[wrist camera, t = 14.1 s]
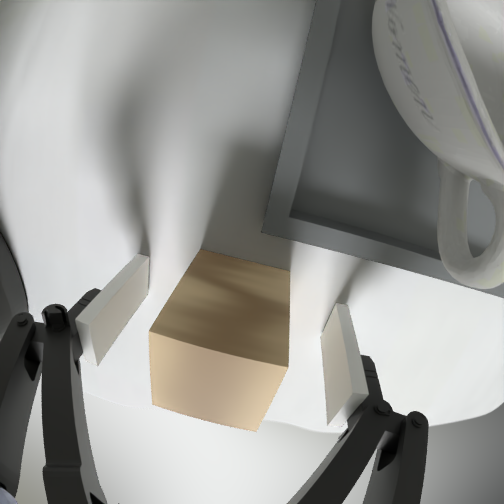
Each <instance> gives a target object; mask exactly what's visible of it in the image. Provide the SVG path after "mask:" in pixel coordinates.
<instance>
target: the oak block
mask: <svg viewBox="0 0 504 504" xmlns="http://www.w3.org/2000/svg"><path fill="white" fill-rule="evenodd" d="M289 323H290V271H287V270H283V269H279V268H275V267H271V266H267V265H263V264H259V263H255V262H251V261H247V260H242V259H238V258H234V257H230V256H226V255H222V254H218V253H214V252H210V251H207V250H203V249H200V251H199V252H198V254H197V255H196V257H195V258H194V260H193V261H192V263H191V264H190V266H189V267H188V269H187V271H186V272H185V274H184V275H183V277H182V278H181V280H180V281H179V283H178V285H177V286H176V288H175V289H174V291H173V293H172V294H171V296H170V297H169V299H168V301H167V302H166V304H165V305H164V307H163V309H162V310H161V312H160V314H159V315H158V317H157V318H156V320H155V322H154V323H153V325H152V327H151V328H150V330H149V357H150V377H151V393H152V404H153V405H155V406H158V407H161V408H164V409H167V410H171V411H174V412H177V413H180V414H184V415H187V416H190V417H194V418H198V419H201V420H205V421H209V422H213V423H217V424H221V425H225V426H230V427H234V428H239V429H244V430H250V431H254V432H256V431H257V429H258V427H259V426H260V424H261V422H262V420H263V418H264V416H265V414H266V412H267V410H268V408H269V406H270V404H271V402H272V400H273V398H274V396H275V394H276V392H277V390H278V388H279V386H280V384H281V382H282V380H283V378H284V376H285V374H286V371H287V369H288V363H289Z"/></svg>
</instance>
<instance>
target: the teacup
mask: <svg viewBox="0 0 504 504" xmlns="http://www.w3.org/2000/svg"><path fill="white" fill-rule="evenodd" d="M372 39H373V47H374V53H375V57H376V61H377V65H378V69H379V71H380V74H381V77H382V80H383V82H384V85H385V87H386V89H387V91H388V93H389V95H390V97H391V99H392V101H393V103H394V105H395V107H396V108H397V110H398V112H399V113H400V115H401V116H402V118H403V119H404V121H405V122H406V124H407V125H408V127H409V128H410V129H411V130H412V132H413V133H414V134H415V135H416V136H417V137H418V139H419V140H420V141H421V142H422V143H423V144H424V145H425V146H426V147H427V148H428V149H429V150H430V151H432V152H433V153H434V154H435V155H436V156H437V158H438V164H437V168H438V174H439V177H440V192H439V206H438V220H437V240H438V247H439V253H440V256H441V260H442V262H443V264H444V267H445V268H446V270H447V271H448V272H449V273H450V275H451V276H452V277H453V278H454V279H456V280H457V281H459V282H460V283H461V284H463V285H466V286H469V287H473V288H478V289H491V288H494V287H497V286H499V285H500V284H502V283H503V282H504V0H376V2H375V5H374V10H373V16H372ZM472 180H475V181H477V182H479V183H480V185H481V189H482V191H483V192H484V194H485V195H486V196H487V197H488V198H489V199H490V200H491V202H492V204H493V206H494V210H495V214H496V226H495V231H494V234H493V237H492V239H491V242H490V244H489V246H488V247H487V248H486V250H485V251H484V252H483V253H482V254H481V255H480V256H478V257H475V258H473V256H472V255H471V253H470V250H469V246H468V238H467V207H468V194H469V185H470V182H471V181H472Z"/></svg>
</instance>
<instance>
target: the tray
mask: <svg viewBox="0 0 504 504" xmlns="http://www.w3.org/2000/svg"><path fill="white" fill-rule="evenodd" d="M375 2H376V0H317V1H316V5H315V9H314V13H313V18H312V22H311V26H310V31H309V35H308V39H307V43H306V48H305V52H304V56H303V60H302V65H301V69H300V73H299V77H298V81H297V86H296V90H295V94H294V98H293V102H292V107H291V111H290V115H289V119H288V123H287V128H286V132H285V136H284V140H283V144H282V148H281V153H280V157H279V161H278V165H277V169H276V173H275V178H274V182H273V186H272V190H271V194H270V198H269V202H268V206H267V211H266V215H265V219H264V223H263V227H262V231H261V233H265V234H269V235H274V236H278V237H282V238H286V239H290V240H294V241H298V242H302V243H306V244H310V245H313V246H317V247H321V248H325V249H329V250H333V251H337V252H341V253H345V254H348V255H352V256H356V257H360V258H364V259H367V260H371V261H375V262H378V263H382V264H386V265H390V266H393V267H397V268H401V269H404V270H408V271H412V272H415V273H419V274H422V275H426V276H429V277H433V278H437V279H440V280H444V281H447V282H451V283H454V284H458V285H461V286H464V287H468V288H471V289H475V290H478V291H481V292H485V293H488V294H492V295H495V296H498V297H501V298H504V282H503V283H502V284H500V285H499V286H497V287H494V288H491V289H478V288H473V287H469V286H466V285H463V284H461V283H460V282H459V281H457V280H456V279H454V278H453V277H452V276H451V275H450V273H449V272H448V271H447V270H446V268H445V267H444V264H443V262H442V260H441V256H440V253H439V247H438V240H437V220H438V206H439V192H440V177H439V174H438V168H437V164H438V158H437V156H436V155H435V154H434V153H433V152H432V151H430V150H429V149H428V148H427V147H426V146H425V145H424V144H423V143H422V142H421V141H420V140H419V139H418V137H417V136H416V135H415V134H414V133H413V132H412V130H411V129H410V128H409V127H408V125H407V124H406V122H405V121H404V119H403V118H402V116H401V115H400V113H399V112H398V110H397V108H396V107H395V105H394V103H393V101H392V99H391V97H390V95H389V93H388V91H387V89H386V87H385V85H384V82H383V80H382V77H381V74H380V71H379V69H378V65H377V61H376V57H375V53H374V47H373V39H372V16H373V10H374V5H375ZM495 226H496V214H495V210H494V206H493V204H492V202H491V200H490V199H489V198H488V197H487V196H486V195H485V194H484V192H483V191H482V189H481V185H480V183H479V182H477V181H475V180H472V181H471V182H470V185H469V194H468V207H467V238H468V246H469V250H470V253H471V255H472V256H473V258H475V257H478V256H480V255H481V254H482V253H483V252H484V251H485V250H486V248H487V247H488V246H489V244H490V242H491V239H492V237H493V234H494V231H495Z"/></svg>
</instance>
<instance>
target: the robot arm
mask: <svg viewBox="0 0 504 504" xmlns="http://www.w3.org/2000/svg"><path fill="white" fill-rule="evenodd" d="M148 275H149V257H148V256H144V255H141V254H137V255H136V256H135V257H134V258H133V259H132V260H131V261H130V262H129V263H128V264H127V265H126V266H125V267H124V268H123V269H122V270H121V271H120V272H119V273H118V274H117V275H116V276H115V277H114V278H113V279H112V280H111V281H110V282H109V283H108V284H107V285H106V286H105V287H104V288H103V290H99V289H96V288H94V289H92V290H90V291H88V292H87V293H86V294H85V295H84V296H83V297H82V298H81V299H80V300H79V301H78V302H77V303H76V304H75V305H74V306H73V307H72V308H71V309H70V310H69V311H68V312H67V309H66V308H65V307H64V306H63V305H60V304H52V305H49V306H47V307H45V308H44V309H43V311H42V313H41V314H42V317H43V321H44V323H39V322H34V319H33V316H32V315H31V314H30V313H28V307H27V301H26V296H25V292H24V288H23V285H22V281H21V278H20V275H19V273H18V270H17V267H16V265H15V262H14V260H13V258H12V255H11V253H10V251H9V249H8V247H7V245H6V243H5V241H4V239H3V237H2V235H1V233H0V504H18V503H17V501H16V500H15V496H16V493H17V489H18V484H19V478H20V469H21V462H22V455H23V449H24V442H25V437H26V432H27V426H28V422H29V418H30V414H31V409H32V405H33V401H34V397H35V393H36V390H37V386H38V383H39V380H40V376H41V373H42V424H43V438H44V448H45V457H46V465H45V466H44V467H43V480H44V486H45V491H46V496H47V501H48V504H107V501H106V498H105V495H104V493H103V491H102V489H101V486H100V484H99V480H98V476H97V472H96V469H95V464H94V460H93V455H92V450H91V446H90V440H89V435H88V429H87V423H86V416H85V409H84V401H83V392H82V381H81V368H80V361H79V358H80V356H81V355H82V354H83V355H84V359H85V361H87V362H89V363H91V364H93V365H96V366H98V365H99V364H100V362H101V361H102V359H103V358H104V356H105V355H106V353H107V352H108V350H109V349H110V347H111V346H112V344H113V343H114V341H115V340H116V339H117V337H118V336H119V334H120V333H121V331H122V330H123V328H124V327H125V326H126V324H127V323H128V321H129V320H130V319H131V317H132V316H133V314H134V313H135V312H136V310H137V309H138V308H139V306H140V305H141V303H142V302H143V301H144V299H145V298H146V297H147V295H148ZM320 338H321V348H322V359H323V370H324V382H325V396H326V411H327V426H337V427H342V426H343V425H344V424H345V423H346V422H347V423H348V428H347V429H346V430H345V431H344V432H343V434H342V435H341V436H340V437H339V440H338V441H337V443H336V444H335V446H334V447H333V449H332V450H331V451H330V452H329V454H328V455H327V457H326V458H325V459H324V461H323V462H322V463H321V464H320V466H319V467H318V468H317V469H316V471H315V472H314V473H313V475H312V476H311V477H310V478H309V479H308V480H307V482H306V483H305V484H304V485H303V486H302V488H301V489H300V490H299V491H298V492H297V493H296V494H295V495H294V496H293V498H292V499H291V500H290V501H289V502H288V503H287V504H342V503H343V501H344V500H345V498H346V497H347V495H348V494H349V492H350V491H351V489H352V488H353V486H354V485H355V483H356V482H357V480H358V479H359V477H360V475H361V474H362V472H363V470H364V469H365V467H366V465H367V464H368V462H369V460H370V458H371V457H372V455H373V453H374V451H375V449H376V448H377V454H376V458H375V462H374V466H373V470H372V474H371V477H370V481H369V485H368V488H367V491H366V495H365V498H364V501H363V504H420V499H421V494H422V487H423V480H424V473H425V465H426V455H427V443H428V420H427V418H426V417H425V416H424V415H423V414H422V413H420V412H417V411H413V412H410V413H409V414H408V415H407V416H405V415H402V414H399V413H396V412H394V411H393V410H392V407H391V406H390V404H389V403H388V402H386V401H385V400H383V396H382V392H381V388H380V384H379V380H378V376H377V373H376V368H375V364H374V362H373V361H372V359H371V358H370V357H369V356H364V355H360V351H359V347H358V343H357V339H356V335H355V331H354V327H353V323H352V319H351V315H350V311H349V308H348V305H344V304H339V303H336V304H335V306H334V309H333V311H332V313H331V315H330V318H329V320H328V322H327V324H326V326H325V329H324V331H323V333H322V335H321V337H320Z"/></svg>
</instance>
